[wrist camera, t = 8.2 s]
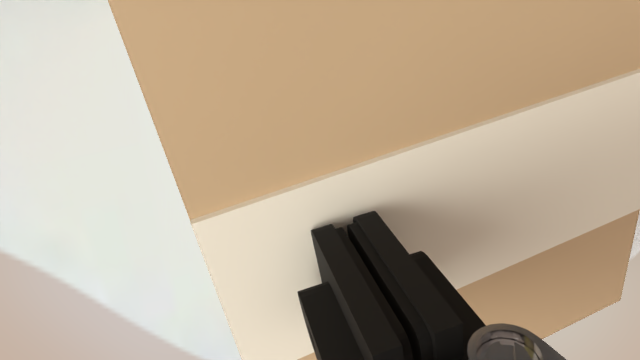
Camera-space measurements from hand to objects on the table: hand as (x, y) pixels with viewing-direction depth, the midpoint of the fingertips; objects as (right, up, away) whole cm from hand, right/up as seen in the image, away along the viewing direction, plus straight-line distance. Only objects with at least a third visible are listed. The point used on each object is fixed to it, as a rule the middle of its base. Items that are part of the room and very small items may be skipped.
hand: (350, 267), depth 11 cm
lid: (+3, +2, +2) cm, 4 cm away
